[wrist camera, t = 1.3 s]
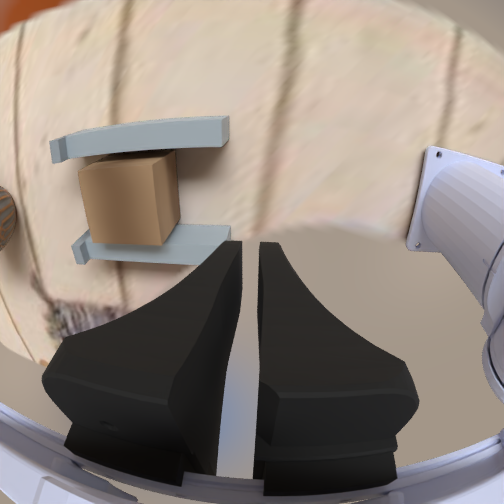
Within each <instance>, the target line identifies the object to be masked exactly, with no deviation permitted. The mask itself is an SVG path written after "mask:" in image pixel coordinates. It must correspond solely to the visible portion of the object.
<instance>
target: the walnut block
mask: <svg viewBox="0 0 504 504" xmlns="http://www.w3.org/2000/svg"><path fill="white" fill-rule="evenodd" d="M78 176H79V182H80V187H81V193H82V198H83V203H84V208H85V212H86V217H87V221H88V226H89V230H90V234H91V238H92V242H93V243H108V244H134V245H159V246H162V245H163V243H164V242H165V240H166V239H167V237H168V236H169V234H170V233H171V231H172V229H173V228H174V226H175V225H176V223H177V222H178V220H179V219H180V207H179V196H178V184H177V170H176V156H175V150H164V151H148V152H135V153H124V154H114V155H108V156H106V157H104V158H102V159H100V160H98V161H96V162H94V163H92V164H90V165H89V166H87V167H85V168H83V169H81V170H79V171H78Z"/></svg>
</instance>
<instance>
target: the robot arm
mask: <svg viewBox="0 0 504 504" xmlns="http://www.w3.org/2000/svg"><path fill="white" fill-rule="evenodd" d="M438 151H439V156H438V157H436V154H437V152H438ZM501 170H502V172H501ZM417 243H419V245H418V246H416V244H417ZM406 247H407V249H408V250H410V251H423V252H441V253H442V255H443V256H444V257H445V258H446V259H447V261H448V262H449V263H450V264H451V266H452V267H453V268H454V270H455V271H456V272H457V273H458V275H459V276H460V277H461V279H462V280H463V281H464V283H465V284H466V285H467V287H468V288H469V289H470V291H471V292H472V293H473V295H474V296H475V298H476V299H477V300H478V302H479V303H480V305H481V306H482V308H483V309H484V316H483V318H482V320H481V325H482V327H483V328H484V330H485V332H486V333H487V335H488V339H487V340H486V342H485V344H484V348H483V352H482V364H483V368H484V372H485V375H486V378H487V380H488V383H489V385H490V387H491V389H492V390H493V392H494V393H495V395H496V396H497V397H498V399H499V400H500V401H501V402H502V403H503V404H504V166H502V165H499V164H496V163H493V162H490V161H487V160H483V159H480V158H477V157H473V156H470V155H466V154H463V153H459V152H456V151H452V150H448V149H444V148H440V147H436V146H428V147H427V148H426V151H425V157H424V163H423V169H422V175H421V180H420V185H419V190H418V195H417V200H416V204H415V209H414V213H413V217H412V221H411V225H410V229H409V233H408V237H407V241H406ZM241 297H242V241H227V240H225V241H224V242H222V243H221V244H220V245H219V246H218V247H217V248H216V249H215V250H214V251H213V252H212V253H211V254H210V255H209V256H208V257H207V258H206V259H205V260H204V261H203V262H202V263H201V264H200V265H199V266H198V267H197V268H196V269H195V270H194V271H193V272H191V273H190V274H189V275H188V276H187V277H185V278H184V279H183V280H182V281H181V282H179V283H178V284H177V285H175V286H174V287H173V288H171V289H170V290H168V291H167V292H165V293H164V294H162V295H161V296H159V297H158V298H156V299H154V300H153V301H151V302H149V303H147V304H145V305H144V306H142V307H140V308H138V309H136V310H135V311H133V312H131V313H129V314H127V315H124V316H122V317H120V318H118V319H116V320H113V321H111V322H109V323H106V324H104V325H101V326H98V327H96V328H93V329H90V330H87V331H84V332H81V333H78V334H74V335H71V336H68V337H65V339H64V340H63V342H62V343H61V345H60V346H59V348H58V350H57V351H56V353H55V355H54V356H53V358H52V360H51V361H50V363H49V365H48V366H47V368H46V370H45V372H44V373H43V375H42V384H43V386H44V389H45V391H46V393H47V394H48V395H49V397H50V398H51V399H52V401H53V402H54V403H55V404H56V405H57V406H58V407H59V409H60V410H61V411H62V412H63V413H64V414H65V415H66V416H67V417H68V418H69V419H70V420H71V421H72V425H71V428H70V430H69V433H68V435H67V436H65V435H62V434H60V433H57V432H55V431H53V430H51V429H49V428H47V427H45V426H43V425H41V424H39V423H37V422H35V421H33V420H31V419H29V418H27V417H25V416H24V415H22V414H20V413H18V412H17V411H14V410H13V409H11V408H10V407H8V406H6V405H4V404H3V403H1V402H0V490H2V491H3V492H4V493H5V494H6V495H7V496H8V497H9V498H11V499H12V500H13V501H14V502H15V503H16V504H142V503H138V502H137V501H138V499H137V498H136V497H134V496H132V495H130V494H128V493H126V492H123V491H122V490H120V489H118V488H116V487H114V486H113V485H112V484H110V483H109V482H108V481H106V480H104V479H102V478H100V477H97V476H95V475H93V474H91V473H89V472H87V471H85V470H83V469H86V470H88V471H91V472H93V473H96V474H98V475H102V476H104V477H107V478H109V479H113V480H115V481H118V482H121V483H124V484H128V485H131V486H134V487H138V488H141V489H145V490H149V491H153V492H157V493H161V494H166V495H170V496H174V497H179V498H184V499H190V500H196V501H202V502H210V503H217V504H339V503H347V502H354V501H360V500H364V501H360V502H355V503H351V504H504V428H503V429H502V430H501V431H500V433H499V434H497V435H494V436H492V437H490V438H488V439H485V440H483V441H481V442H478V443H476V444H473V445H471V446H468V447H466V448H463V449H460V450H458V451H455V452H452V453H449V454H446V455H443V456H440V457H436V458H433V459H430V460H426V461H422V462H419V463H415V464H411V465H407V466H403V467H398V468H396V465H395V460H394V455H393V452H395V451H396V450H397V447H398V445H397V440H396V436H395V435H396V434H397V433H398V432H399V431H400V430H401V429H402V428H403V427H404V426H405V425H406V424H407V423H408V421H409V420H410V419H411V418H412V416H413V415H414V414H415V412H416V410H417V409H418V406H419V398H418V395H417V391H416V388H415V385H414V382H413V379H412V377H411V375H410V372H409V370H408V368H407V366H406V364H405V362H404V361H402V360H401V359H399V358H397V357H395V356H393V355H391V354H389V353H388V352H386V351H384V350H382V349H380V348H379V347H377V346H375V345H373V344H372V343H370V342H369V341H367V340H366V339H364V338H363V337H361V336H360V335H358V334H357V333H355V332H354V331H353V330H351V329H350V328H349V327H347V326H346V325H345V324H343V323H342V322H341V321H340V320H339V319H337V318H336V317H335V316H334V315H333V314H331V313H330V312H329V311H328V310H327V309H326V308H325V307H324V306H323V305H322V304H321V303H320V302H319V301H318V300H317V299H316V298H315V297H314V295H313V294H312V293H311V292H310V291H309V289H308V288H307V287H306V286H305V284H304V283H303V282H302V280H301V279H300V278H299V276H298V275H297V274H296V272H295V270H294V269H293V268H292V266H291V264H290V263H289V261H288V259H287V258H286V256H285V254H284V252H283V250H282V248H281V246H280V245H279V243H276V242H260V247H259V274H258V306H257V308H258V309H257V318H258V339H259V360H260V373H259V390H258V407H257V423H256V438H255V454H254V467H253V479H241V478H229V477H219V476H216V469H217V457H218V445H219V434H220V424H221V413H222V405H223V395H224V387H225V379H226V371H227V366H228V361H229V356H230V352H231V347H232V344H233V339H234V335H235V331H236V327H237V322H238V318H239V313H240V306H241ZM82 468H83V469H82ZM366 499H368V500H366Z"/></svg>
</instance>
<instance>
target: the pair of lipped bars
mask: <svg viewBox="0 0 504 504" xmlns="http://www.w3.org/2000/svg"><path fill="white" fill-rule="evenodd" d="M228 140H229V116H205V117H185V118H171V119H159V120H149V121H140V122H132V123H125V124H118V125H111V126H105V127H99V128H93V129H88V130H82V131H78V132H75V133H72V134H69V135H66V136H63V137H60V138H58V139H55V140H52V141H49V142H50V150H51V157H52V163H53V164H54V163H60V162H63V161H65V160H67V159H71V158H78V157H85V156H92V155H100V154H108V153H117V152H128V151H139V150H152V149H168V148H191V147H222V146H223V145H224V144H225V143H226V142H227V141H228ZM225 240H227V241H231V229H230V226H218V225H179V224H176V225H175V226H174V228H173V229H172V231H171V233H170V234H169V236H168V237H167V239H166V240H165V242H164V243H163V245H162V246H159V245H134V244H108V243H93V242H92V238H91V234H90V230H87V231H86V232H85V233H84V234H83V235H82V236H81V237H80V238H79V239H78V240H77V241H76V242H75V243H74V244H73V245H72V246H71V247H72V250H73V253H74V257H75V260H76V263H77V264H84V265H85V264H86V263H87V262H88V261H89V259H103V260H118V261H134V262H150V263H167V264H185V265H200V264H201V263H202V262H203V261H204V260H205V259H206V258H207V257H208V256H209V255H210V254H211V253H212V252H213V251H214V250H215V249H216V248H217V247H218V246H219V245H220V244H221V243H222V242H224V241H225Z"/></svg>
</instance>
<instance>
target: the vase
mask: <svg viewBox="0 0 504 504" xmlns="http://www.w3.org/2000/svg"><path fill="white" fill-rule="evenodd" d="M15 221H16V209H15V205H14V202H13V199H12V197H11V195H10V194H9V193H8V191H7V190H5V189H4V188H3V187H1V186H0V251H1V250H2V249H3V248H4V247H5V245H6V244H7V243H8V241H9V239H10V238H11V236H12V233H13V231H14V227H15Z"/></svg>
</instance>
